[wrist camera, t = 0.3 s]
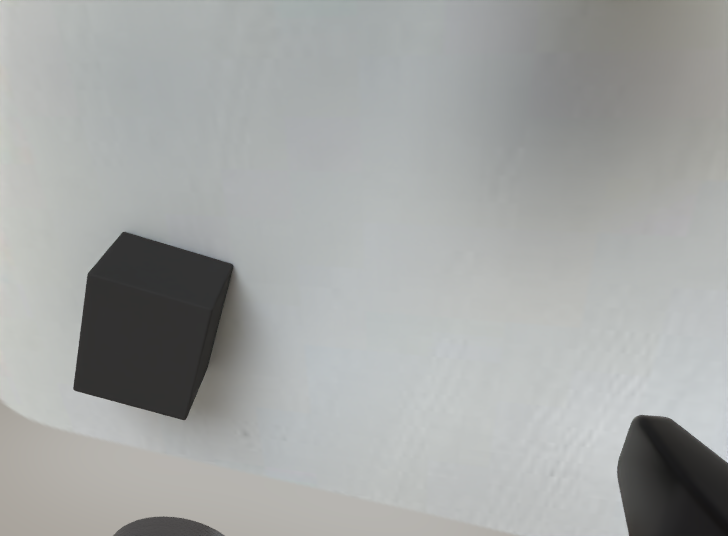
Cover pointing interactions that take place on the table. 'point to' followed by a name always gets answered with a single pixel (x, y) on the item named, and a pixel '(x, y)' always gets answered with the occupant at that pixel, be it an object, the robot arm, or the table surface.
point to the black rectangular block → (149, 324)
